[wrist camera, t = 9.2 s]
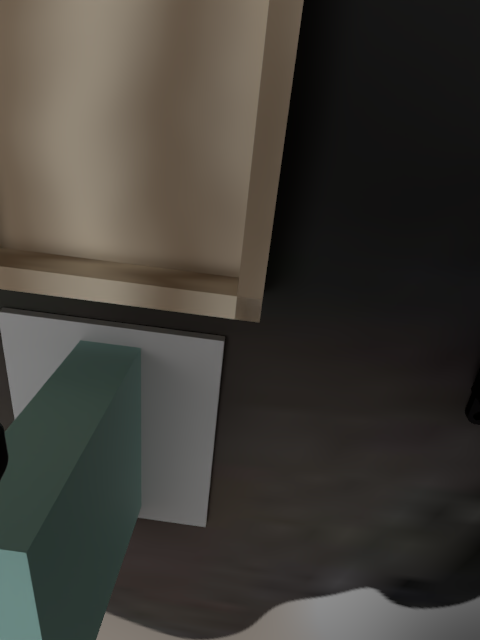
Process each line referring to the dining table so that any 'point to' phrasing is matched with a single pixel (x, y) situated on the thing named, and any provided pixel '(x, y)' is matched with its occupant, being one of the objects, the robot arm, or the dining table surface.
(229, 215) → the rack
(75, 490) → the teal square block
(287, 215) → the dining table surface
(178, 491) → the grey mat
